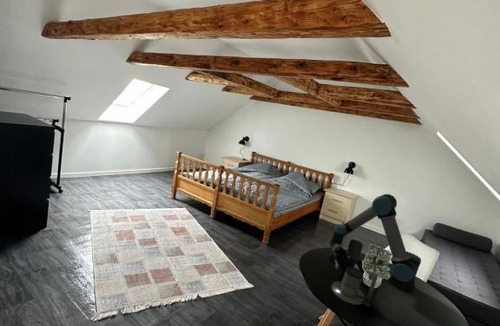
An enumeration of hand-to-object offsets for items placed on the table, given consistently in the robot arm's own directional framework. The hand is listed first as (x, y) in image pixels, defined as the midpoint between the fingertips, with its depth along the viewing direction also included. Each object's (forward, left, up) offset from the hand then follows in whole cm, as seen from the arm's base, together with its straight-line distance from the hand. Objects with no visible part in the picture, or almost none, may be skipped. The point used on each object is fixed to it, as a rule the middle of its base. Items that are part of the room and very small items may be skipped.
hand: (347, 269), depth 178 cm
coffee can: (0, +10, -9) cm, 13 cm away
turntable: (0, +10, -10) cm, 14 cm away
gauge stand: (-9, +17, -10) cm, 21 cm away
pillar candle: (-16, -34, -10) cm, 39 cm away
